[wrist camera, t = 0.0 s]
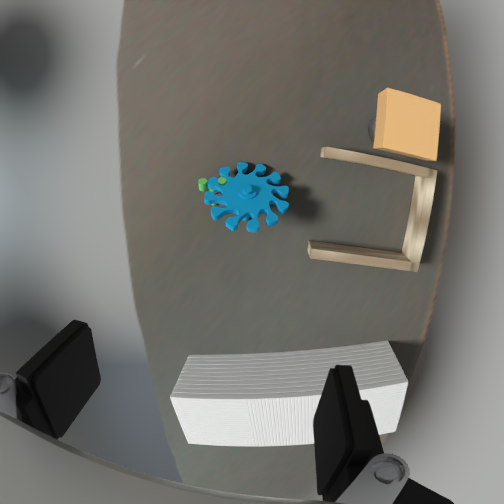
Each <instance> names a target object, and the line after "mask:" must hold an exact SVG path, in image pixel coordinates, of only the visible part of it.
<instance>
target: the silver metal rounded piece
mask: <svg viewBox="0 0 504 504" xmlns="http://www.w3.org/2000/svg"><path fill="white" fill-rule="evenodd" d="M376 117H377V116H376ZM376 117H374V118H373V119H372V120H371V122H370V123H369V127H368V132H369V136H370V138H371V140H372V141H373V142H374V138H375V128H376Z"/></svg>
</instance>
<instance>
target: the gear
mask: <svg viewBox="0 0 504 504" xmlns="http://www.w3.org/2000/svg"><path fill="white" fill-rule="evenodd" d="M247 167H248V164H247V163H244V162H238V163H237V171H238V174H237V175H236V177H233V178H232V177H229V176H230V168H229V167H223V168H220V176H221V177H220V178H219V179H217V178H216V177H212V178H210V179H209V180H208V181H207V179H205V178H200V179H199V181H198V183H199V190H200V191H207V192H206V194H205V198H204V200H205V204H208V205H210V204H211V205H213V206H215V205H216V204H217V203H218V204H222V205H225V206H226V207H225V208H220V207H217V206H215V207H212V208H211V215H212V217H213V219H214V220H218V219H220V218H221V217H222V216H224V215H226V214H232V213H235V214H237V216H236V217H230V218H228V219H227V220H226V226H227V227H228V228H229V229H230V230H232V231H235V230H236V229H237V227H238V224H239V222H240V221H241V220H243V221H248V220H249V216H250V217H252V218H253V219H251V220H250V221H248V223H247V231H249V232H258V230H259V223H258V220H257V218H258V216H259V214H260V213H265V214H267V218H266V224H267V226H273V225H276V224H277V223H278V216H277V215H275V214H274V213H273V212H272V211H271V209H270V206H269V205H270V204H274V205H276V206H277V210H278V212H279V213H281V214H284V213H285V212H286V211H287V209H288V207H289V203H288V202H286V201H282V200H279V199H277V198H276V197H275V196H274V195H273V194H272V193H276V194H278V195H279V196H280V197H281V198H287V196H288V192H289V187H288V186H272V185H269V184H267V183H273V184H279V183H280V181H281V177H280V175H279V174H278V172H274V173H272V174H271V175H269V176H266V177H257V176H258V175H264V174H265V172H266V167H265V166H264V165H262V164H257V165H256V168H255V170H254V171H253V172H251V173H249V174H247V175H245V174H243V173H245V172H246V171H247Z"/></svg>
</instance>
